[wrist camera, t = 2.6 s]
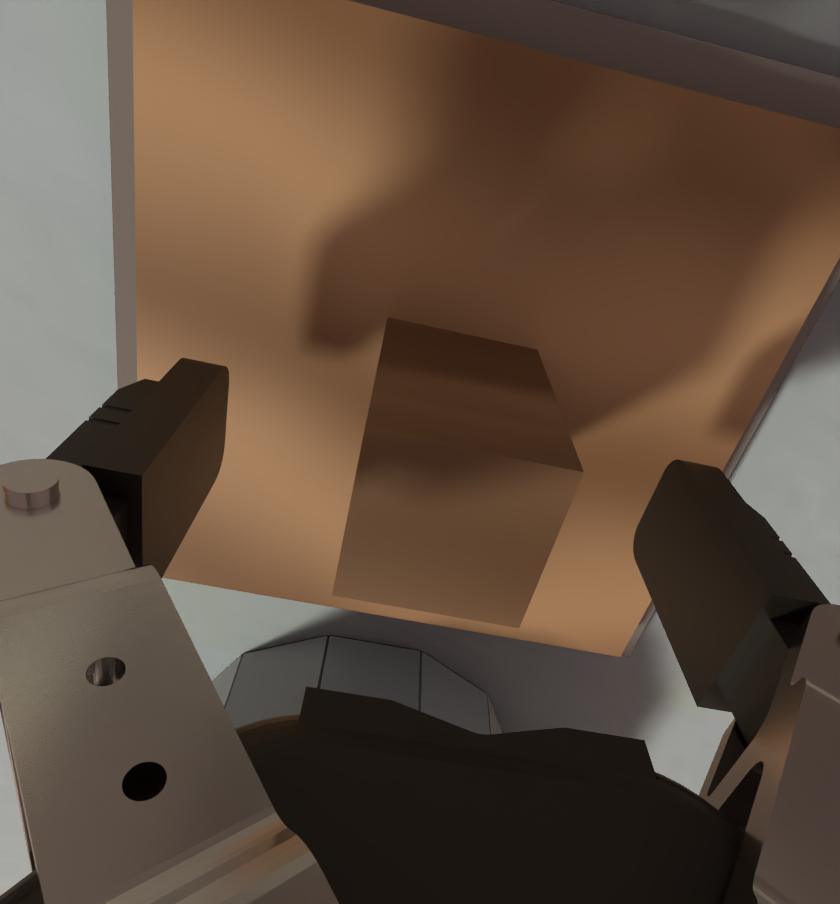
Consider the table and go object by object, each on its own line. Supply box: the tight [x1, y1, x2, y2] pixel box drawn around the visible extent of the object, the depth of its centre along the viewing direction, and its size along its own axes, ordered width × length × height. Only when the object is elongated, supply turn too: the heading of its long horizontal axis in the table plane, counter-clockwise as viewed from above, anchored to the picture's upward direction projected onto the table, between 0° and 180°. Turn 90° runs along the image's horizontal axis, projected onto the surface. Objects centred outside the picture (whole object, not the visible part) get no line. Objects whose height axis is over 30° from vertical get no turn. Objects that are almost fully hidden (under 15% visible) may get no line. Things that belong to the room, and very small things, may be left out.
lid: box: [132, 0, 840, 657], centre depth 11 cm, size 12×12×5 cm
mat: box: [106, 0, 840, 657], centre depth 14 cm, size 14×14×1 cm
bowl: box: [212, 636, 503, 734], centre depth 19 cm, size 10×10×5 cm
